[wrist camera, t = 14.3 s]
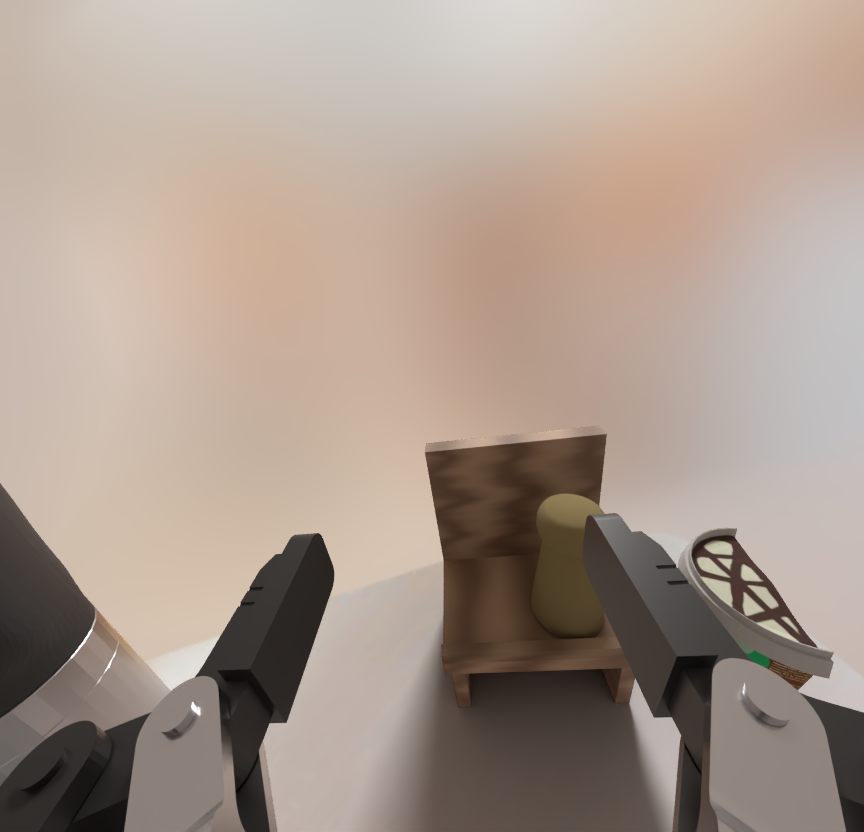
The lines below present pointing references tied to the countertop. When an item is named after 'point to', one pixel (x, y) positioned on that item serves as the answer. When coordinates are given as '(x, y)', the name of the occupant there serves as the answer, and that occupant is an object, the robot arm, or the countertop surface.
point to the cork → (565, 570)
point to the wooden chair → (511, 553)
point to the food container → (751, 608)
